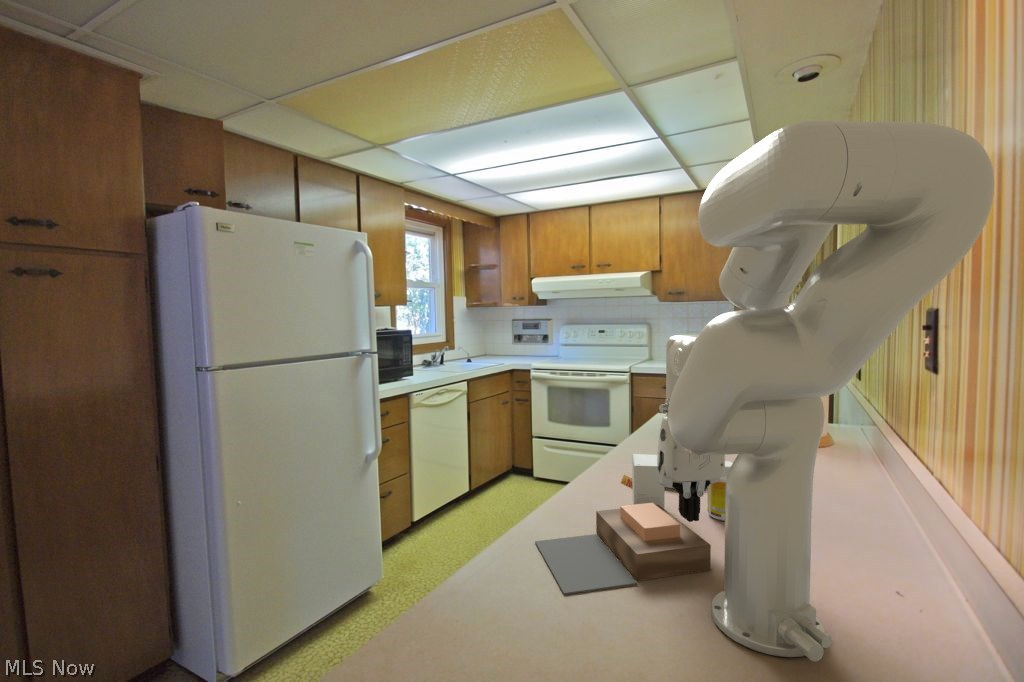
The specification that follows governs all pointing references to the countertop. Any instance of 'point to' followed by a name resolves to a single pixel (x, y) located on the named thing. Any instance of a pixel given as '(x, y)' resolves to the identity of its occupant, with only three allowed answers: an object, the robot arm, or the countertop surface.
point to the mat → (583, 564)
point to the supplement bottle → (718, 495)
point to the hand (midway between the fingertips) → (689, 517)
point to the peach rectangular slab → (650, 521)
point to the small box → (646, 480)
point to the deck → (653, 548)
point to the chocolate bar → (627, 481)
